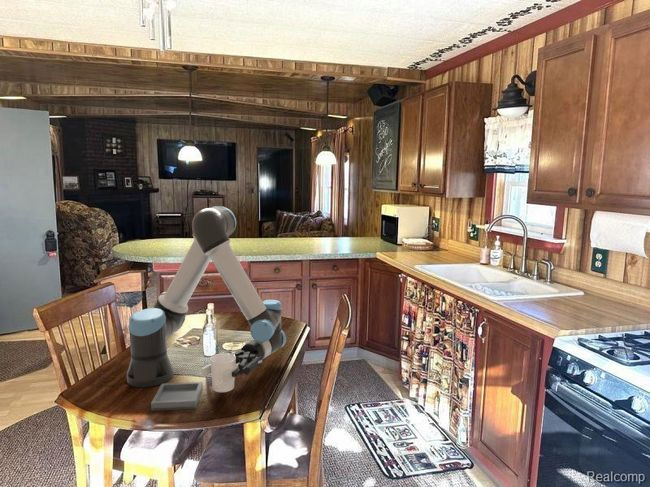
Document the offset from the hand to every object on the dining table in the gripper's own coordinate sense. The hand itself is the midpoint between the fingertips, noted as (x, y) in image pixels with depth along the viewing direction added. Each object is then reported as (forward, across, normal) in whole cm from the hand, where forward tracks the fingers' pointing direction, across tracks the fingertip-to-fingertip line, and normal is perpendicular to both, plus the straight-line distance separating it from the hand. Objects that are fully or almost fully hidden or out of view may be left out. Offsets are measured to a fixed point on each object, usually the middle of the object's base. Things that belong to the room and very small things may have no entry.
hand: (213, 375), depth 138 cm
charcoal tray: (+3, +12, -10) cm, 16 cm away
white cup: (-5, 0, -6) cm, 8 cm away
